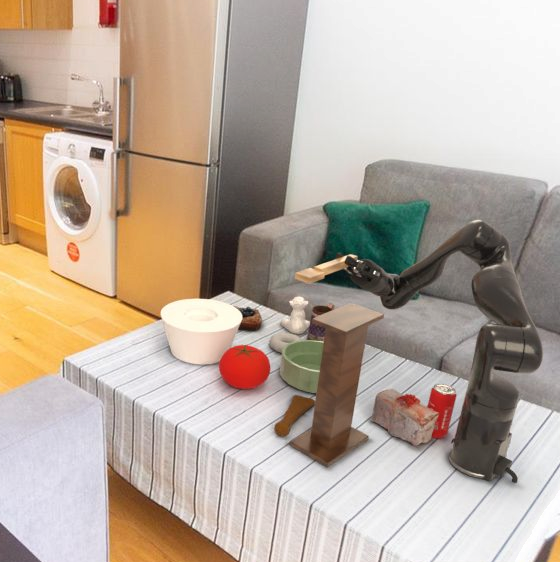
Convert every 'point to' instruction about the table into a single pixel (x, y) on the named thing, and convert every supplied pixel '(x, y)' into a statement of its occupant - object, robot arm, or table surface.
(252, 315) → the pastry
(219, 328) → the white tapered cylinder
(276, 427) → the primitive tool
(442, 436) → the beverage can
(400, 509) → the table surface
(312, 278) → the wooden paddle
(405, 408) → the food item
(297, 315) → the white creature statuette
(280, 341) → the donut
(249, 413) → the table surface
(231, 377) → the tomato
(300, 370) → the mixing bowl
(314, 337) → the mug
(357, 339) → the stand
